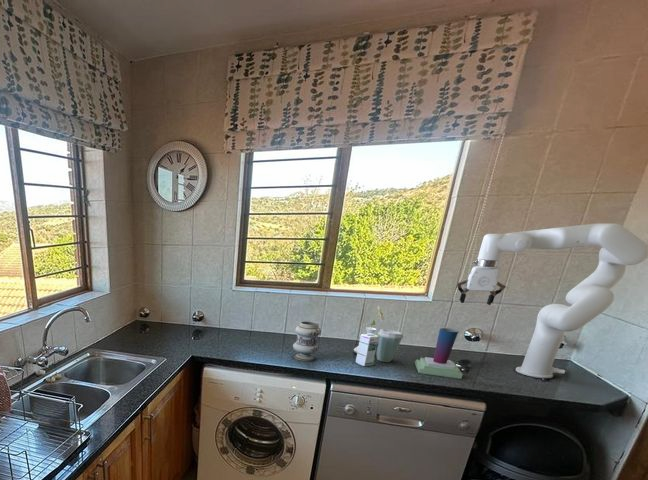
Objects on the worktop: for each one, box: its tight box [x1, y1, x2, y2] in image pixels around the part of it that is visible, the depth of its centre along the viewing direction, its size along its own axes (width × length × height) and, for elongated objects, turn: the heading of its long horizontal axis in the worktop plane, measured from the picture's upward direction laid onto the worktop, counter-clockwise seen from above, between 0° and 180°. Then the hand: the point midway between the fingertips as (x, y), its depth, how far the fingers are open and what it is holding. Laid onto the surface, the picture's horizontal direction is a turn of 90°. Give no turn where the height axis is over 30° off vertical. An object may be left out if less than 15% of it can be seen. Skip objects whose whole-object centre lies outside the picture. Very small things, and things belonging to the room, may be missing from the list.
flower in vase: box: [353, 305, 385, 356], centre depth 202 cm, size 13×11×25 cm
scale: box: [414, 357, 464, 380], centre depth 184 cm, size 16×14×4 cm
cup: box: [433, 327, 459, 364], centre depth 180 cm, size 7×7×15 cm
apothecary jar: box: [292, 320, 322, 362], centre depth 197 cm, size 12×12×18 cm
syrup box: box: [355, 333, 380, 367], centre depth 190 cm, size 6×6×14 cm
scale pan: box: [424, 356, 455, 369], centre depth 183 cm, size 10×10×2 cm
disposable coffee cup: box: [376, 328, 404, 363], centre depth 195 cm, size 11×11×15 cm
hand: (475, 303), depth 179 cm, fingers open, 9 cm apart
